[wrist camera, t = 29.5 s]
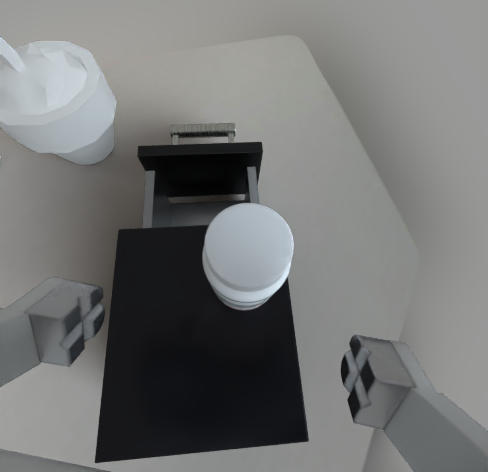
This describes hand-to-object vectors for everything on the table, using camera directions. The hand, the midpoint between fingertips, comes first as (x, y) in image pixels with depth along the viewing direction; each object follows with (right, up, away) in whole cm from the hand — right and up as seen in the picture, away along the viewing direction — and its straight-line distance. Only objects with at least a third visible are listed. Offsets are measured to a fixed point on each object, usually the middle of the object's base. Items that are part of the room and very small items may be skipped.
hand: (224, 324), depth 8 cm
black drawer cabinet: (-3, -7, +19) cm, 20 cm away
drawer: (-3, +5, +22) cm, 23 cm away
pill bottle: (+1, 0, +11) cm, 11 cm away
